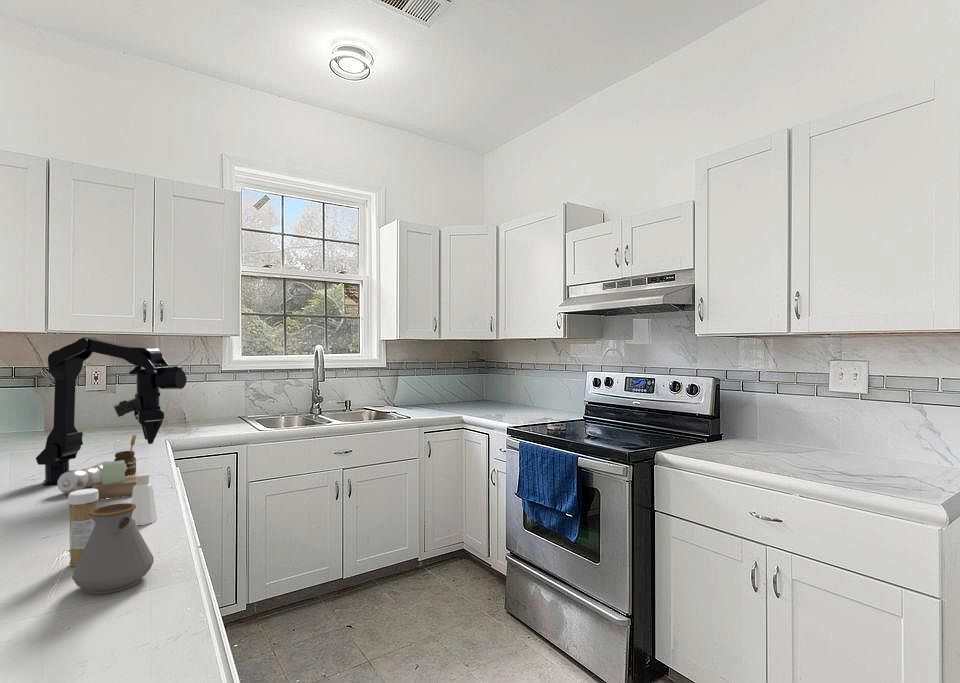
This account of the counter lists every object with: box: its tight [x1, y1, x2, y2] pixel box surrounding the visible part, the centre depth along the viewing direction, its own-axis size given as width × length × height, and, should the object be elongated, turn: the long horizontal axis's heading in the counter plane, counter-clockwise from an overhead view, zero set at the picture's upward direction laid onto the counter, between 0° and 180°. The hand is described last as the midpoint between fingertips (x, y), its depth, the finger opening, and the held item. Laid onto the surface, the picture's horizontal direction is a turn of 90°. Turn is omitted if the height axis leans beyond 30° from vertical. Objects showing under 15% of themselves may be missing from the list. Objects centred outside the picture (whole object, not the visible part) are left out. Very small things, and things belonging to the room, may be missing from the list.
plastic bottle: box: [56, 460, 127, 495], centre depth 155 cm, size 6×7×20 cm
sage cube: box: [102, 460, 125, 484], centre depth 146 cm, size 5×5×5 cm
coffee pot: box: [72, 502, 155, 595], centre depth 87 cm, size 21×12×15 cm, turn 40°
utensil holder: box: [113, 434, 137, 476], centre depth 169 cm, size 6×6×12 cm
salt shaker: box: [131, 472, 158, 527], centre depth 123 cm, size 5×5×11 cm
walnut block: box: [91, 474, 137, 501], centre depth 147 cm, size 10×10×4 cm
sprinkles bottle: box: [67, 488, 99, 567], centre depth 100 cm, size 5×5×14 cm
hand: (148, 441), depth 159 cm, fingers open, 9 cm apart
